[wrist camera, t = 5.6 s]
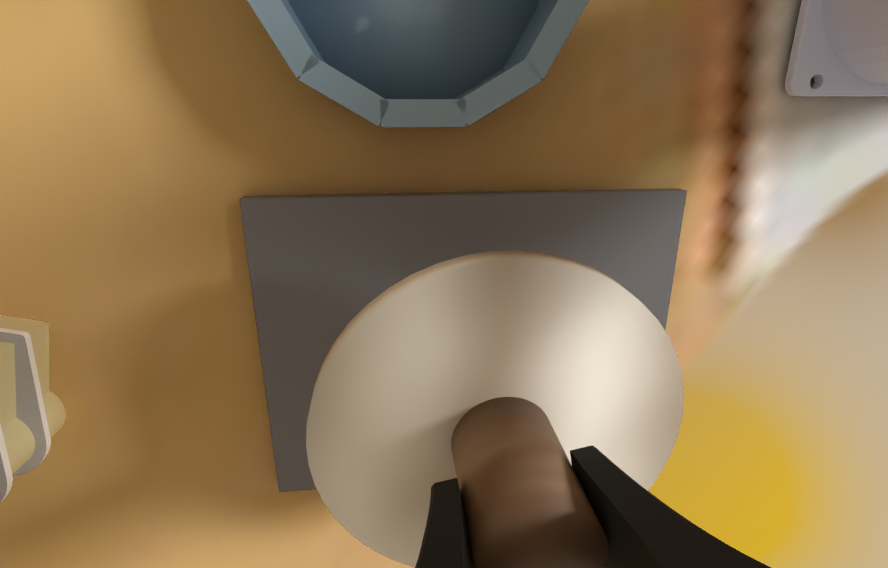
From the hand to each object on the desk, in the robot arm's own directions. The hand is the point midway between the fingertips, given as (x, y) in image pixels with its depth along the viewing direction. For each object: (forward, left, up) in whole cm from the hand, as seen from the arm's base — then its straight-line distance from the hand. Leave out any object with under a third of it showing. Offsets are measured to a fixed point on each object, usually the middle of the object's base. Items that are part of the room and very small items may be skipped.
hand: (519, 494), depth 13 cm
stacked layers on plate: (+19, +1, -10) cm, 21 cm away
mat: (0, 0, -9) cm, 9 cm away
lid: (0, 0, -3) cm, 3 cm away
